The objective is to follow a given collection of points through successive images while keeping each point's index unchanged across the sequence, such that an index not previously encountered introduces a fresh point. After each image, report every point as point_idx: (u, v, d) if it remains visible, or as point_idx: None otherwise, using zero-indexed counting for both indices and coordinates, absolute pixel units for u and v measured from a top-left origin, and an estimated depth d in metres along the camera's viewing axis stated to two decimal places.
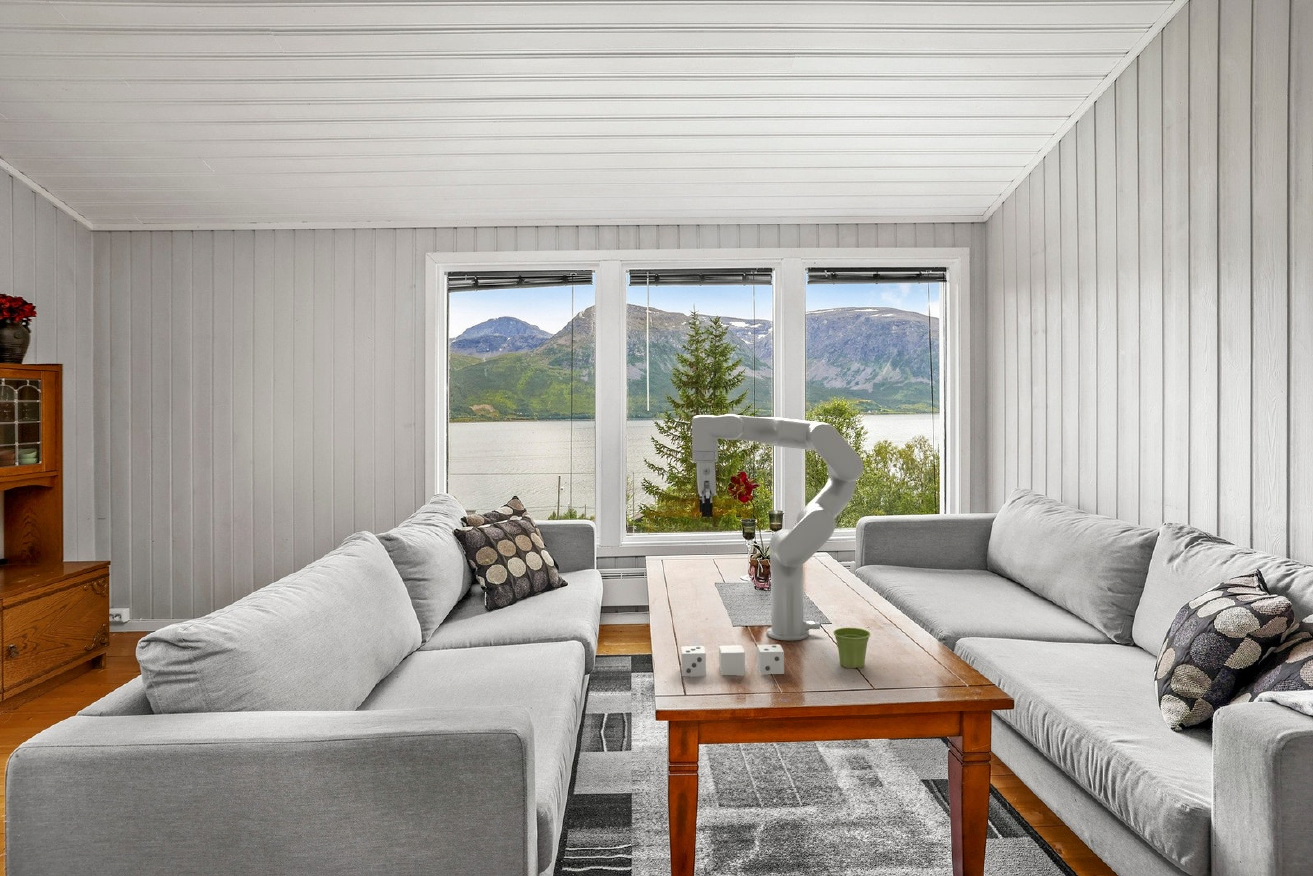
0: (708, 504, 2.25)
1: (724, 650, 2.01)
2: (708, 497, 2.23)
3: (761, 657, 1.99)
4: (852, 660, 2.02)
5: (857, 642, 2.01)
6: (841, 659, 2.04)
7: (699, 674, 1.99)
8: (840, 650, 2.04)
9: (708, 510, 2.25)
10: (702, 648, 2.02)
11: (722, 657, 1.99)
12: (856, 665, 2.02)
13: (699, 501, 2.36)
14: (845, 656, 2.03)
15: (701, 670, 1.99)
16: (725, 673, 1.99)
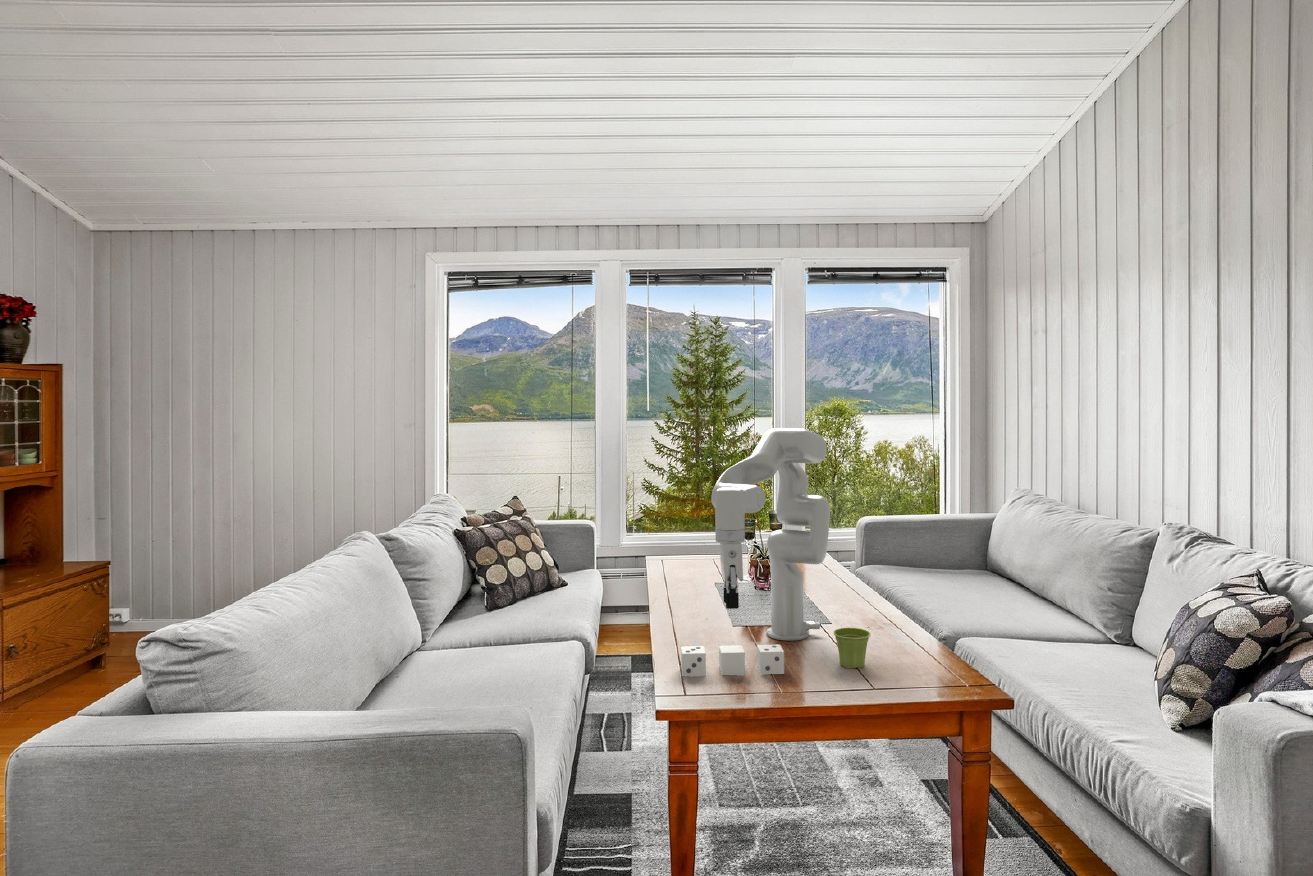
0: (733, 595, 1.97)
1: (724, 650, 2.01)
2: (734, 588, 1.95)
3: (761, 657, 1.99)
4: (852, 660, 2.02)
5: (857, 642, 2.01)
6: (841, 659, 2.04)
7: (699, 674, 1.99)
8: (840, 650, 2.04)
9: (733, 601, 1.97)
10: (702, 648, 2.02)
11: (722, 657, 1.99)
12: (856, 665, 2.02)
13: None
14: (845, 656, 2.03)
15: (701, 670, 1.99)
16: (725, 673, 1.99)
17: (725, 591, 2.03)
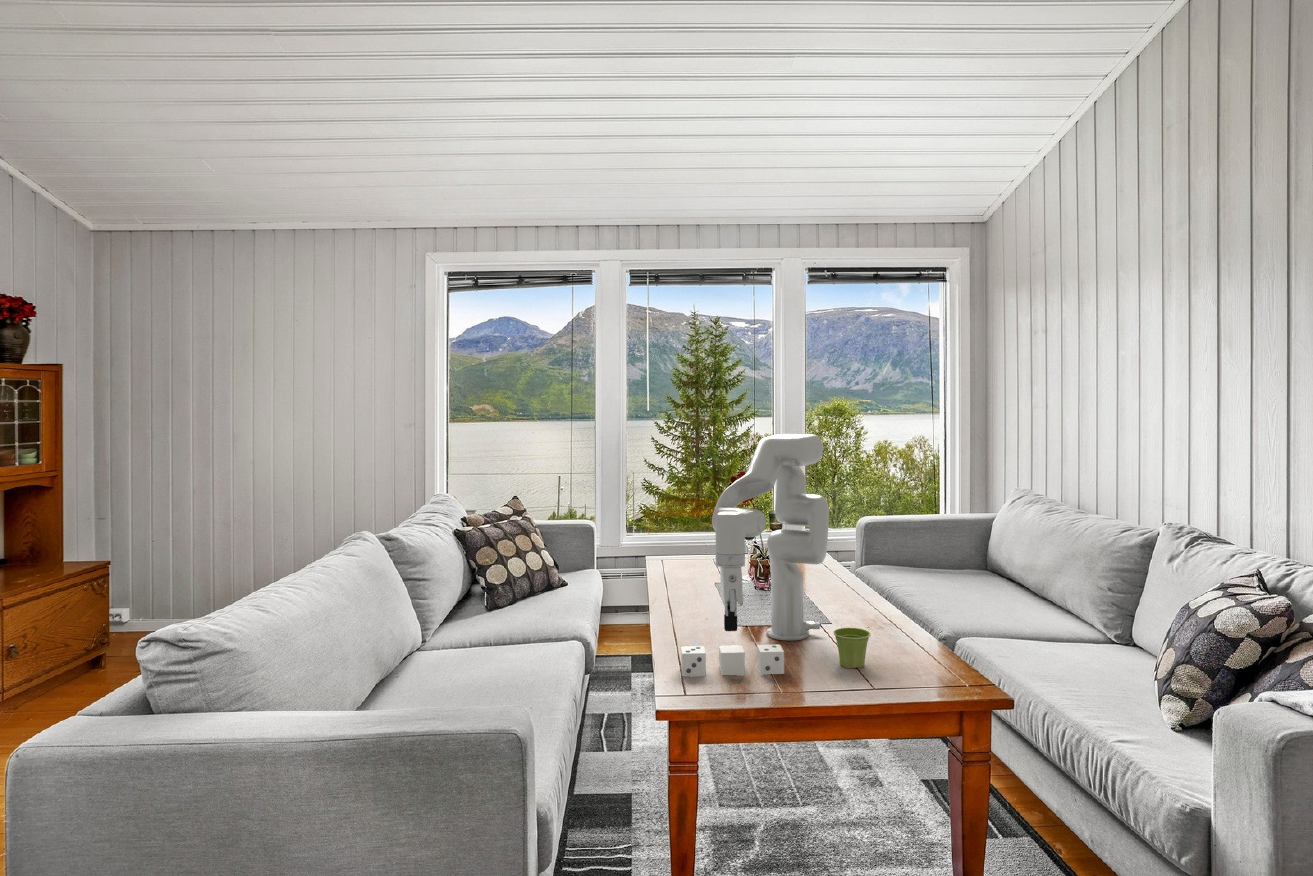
0: (732, 617, 1.99)
1: (724, 650, 2.01)
2: (732, 611, 1.98)
3: (761, 657, 1.99)
4: (852, 660, 2.02)
5: (857, 642, 2.01)
6: (841, 659, 2.04)
7: (699, 674, 1.99)
8: (840, 650, 2.04)
9: (732, 624, 1.99)
10: (702, 648, 2.02)
11: (722, 657, 1.99)
12: (856, 665, 2.02)
13: (724, 617, 2.01)
14: (845, 656, 2.03)
15: (701, 670, 1.99)
16: (725, 673, 1.99)
17: None
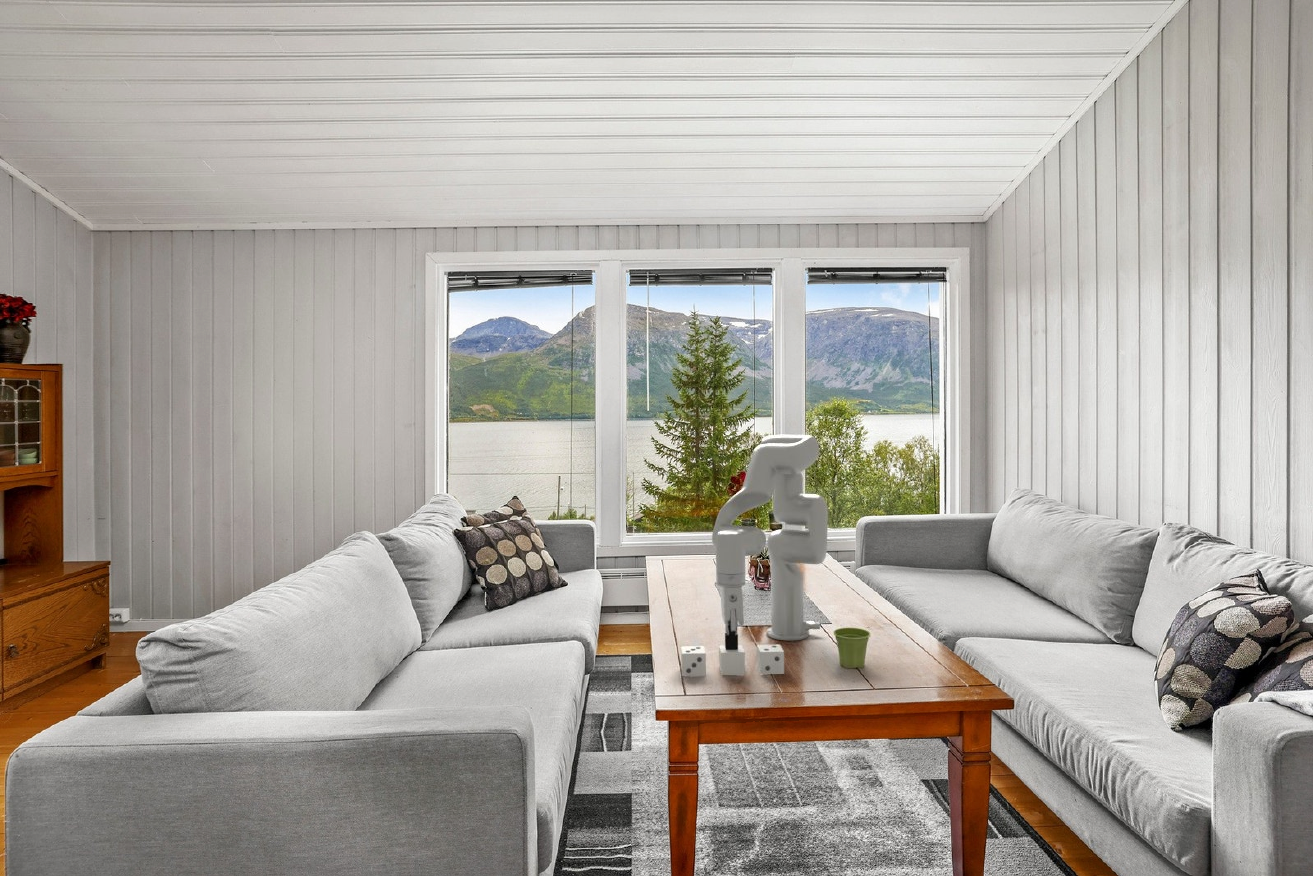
0: (733, 636, 2.00)
1: (724, 649, 2.01)
2: (733, 630, 1.98)
3: (761, 657, 1.99)
4: (852, 660, 2.02)
5: (857, 642, 2.01)
6: (841, 659, 2.04)
7: (699, 674, 1.99)
8: (840, 650, 2.04)
9: (733, 643, 2.00)
10: (702, 648, 2.02)
11: (722, 657, 1.99)
12: (856, 665, 2.02)
13: None
14: (845, 656, 2.03)
15: (701, 670, 1.99)
16: (725, 673, 1.99)
17: None
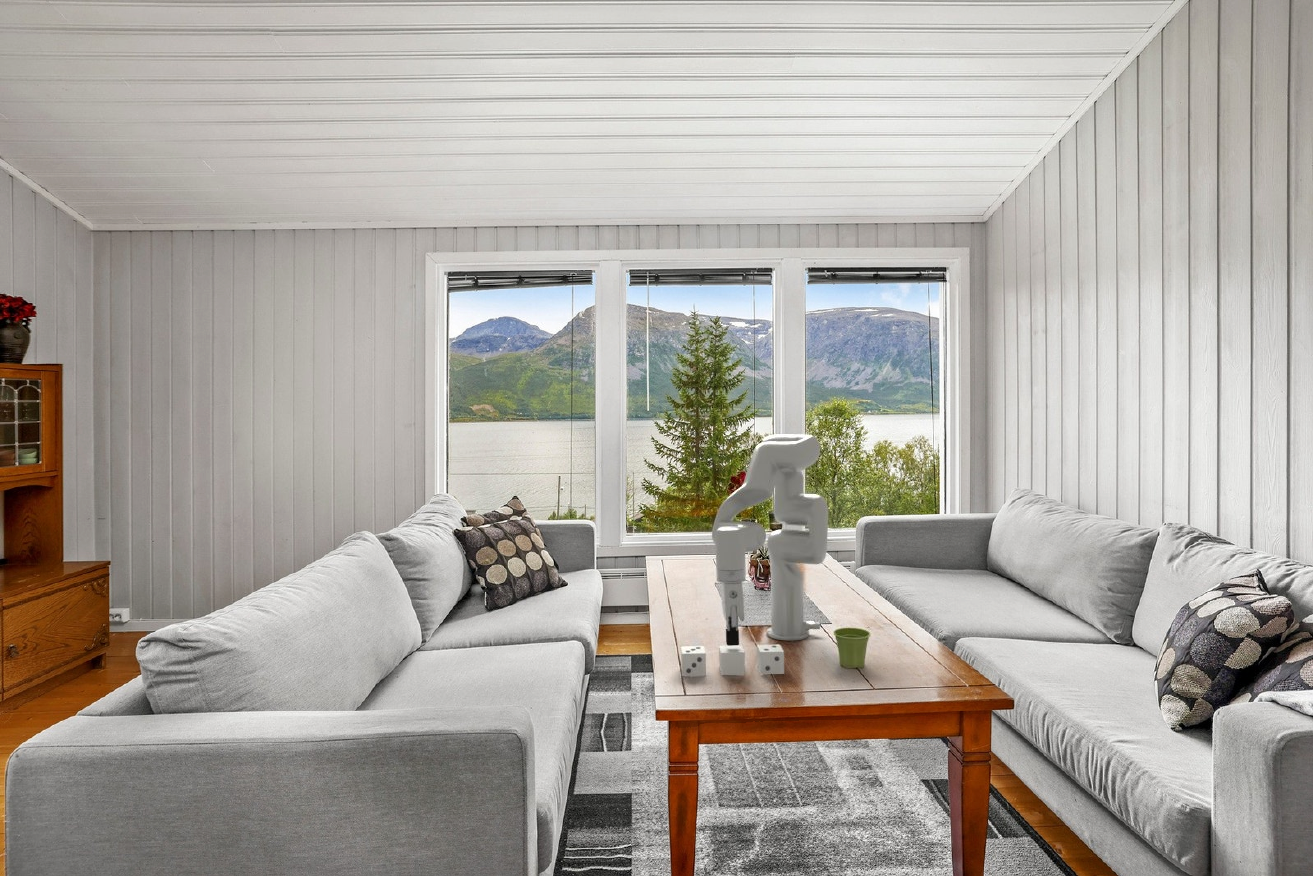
0: (734, 632, 2.00)
1: (724, 650, 2.01)
2: (734, 626, 1.99)
3: (761, 657, 1.99)
4: (852, 660, 2.02)
5: (857, 642, 2.01)
6: (841, 659, 2.04)
7: (699, 674, 1.99)
8: (840, 650, 2.04)
9: (734, 638, 2.00)
10: (702, 648, 2.02)
11: (722, 657, 1.99)
12: (856, 665, 2.02)
13: None
14: (845, 656, 2.03)
15: (701, 670, 1.99)
16: (725, 673, 1.99)
17: None
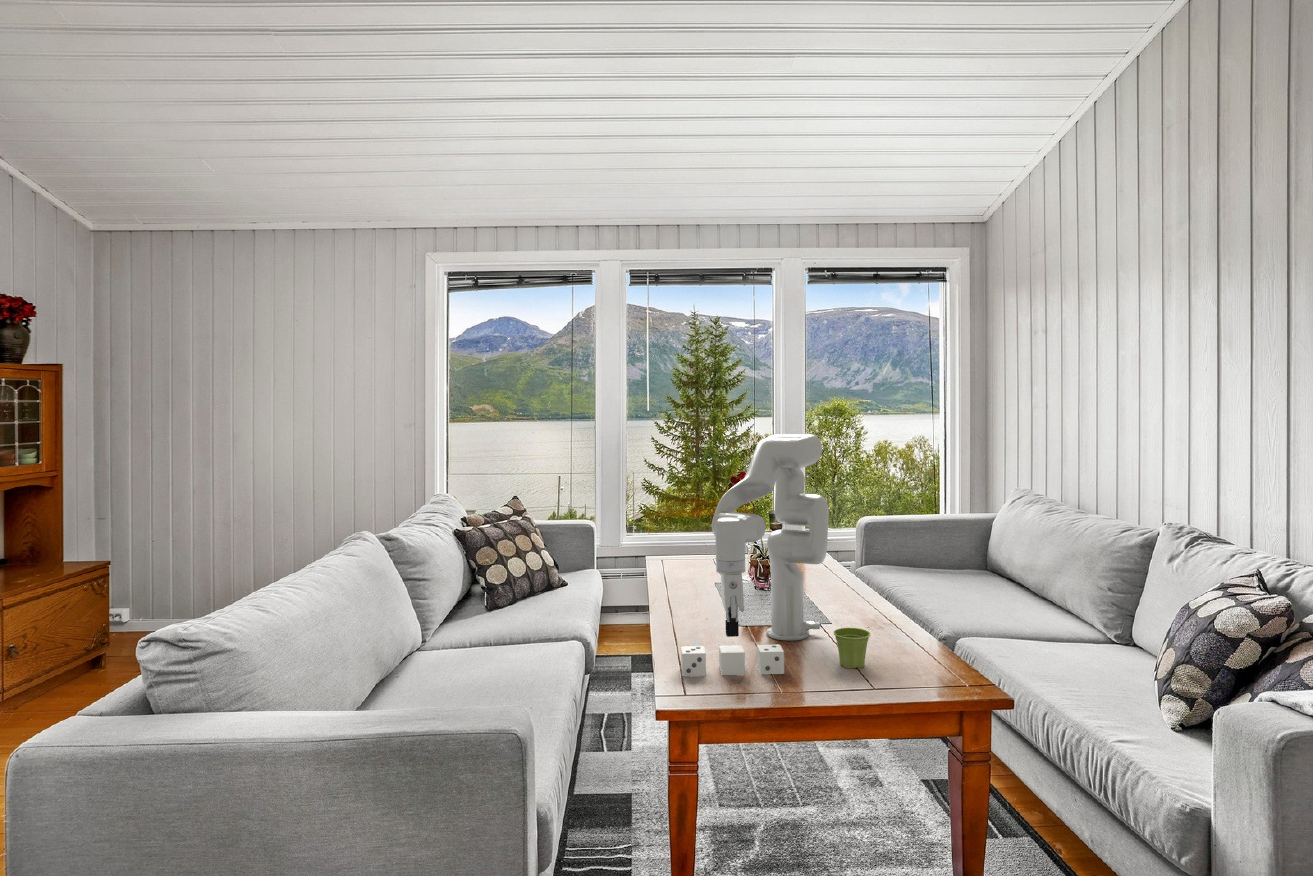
0: (733, 623, 2.00)
1: (724, 650, 2.01)
2: (733, 617, 1.98)
3: (761, 657, 1.99)
4: (852, 660, 2.02)
5: (857, 642, 2.01)
6: (841, 659, 2.04)
7: (699, 674, 1.99)
8: (840, 650, 2.04)
9: (733, 629, 2.00)
10: (702, 648, 2.02)
11: (722, 657, 1.99)
12: (856, 665, 2.02)
13: None
14: (845, 656, 2.03)
15: (701, 670, 1.99)
16: (725, 673, 1.99)
17: None
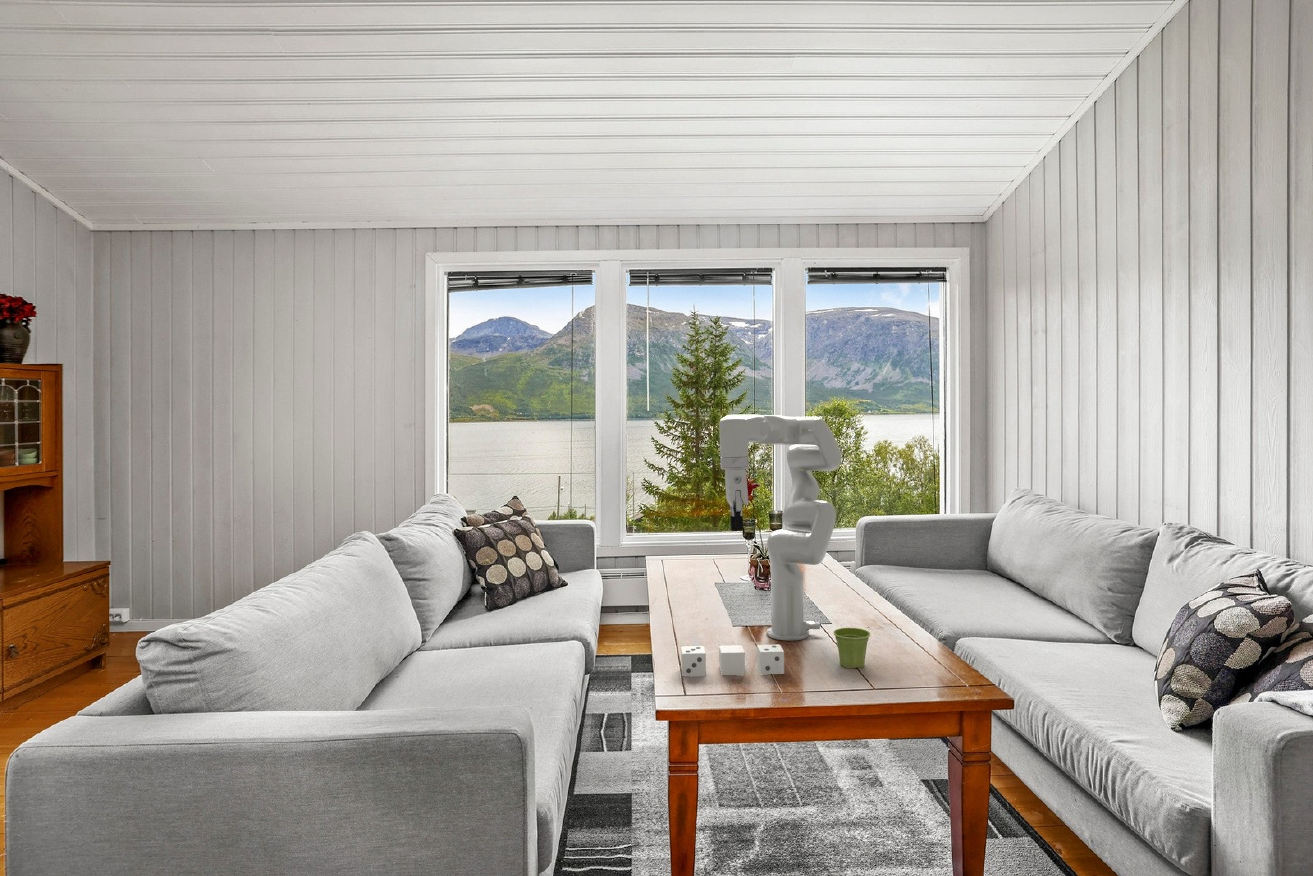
0: (738, 518, 2.09)
1: (724, 650, 2.01)
2: (738, 511, 2.07)
3: (761, 657, 1.99)
4: (852, 660, 2.02)
5: (857, 642, 2.01)
6: (841, 659, 2.04)
7: (699, 674, 1.99)
8: (840, 650, 2.04)
9: (738, 524, 2.09)
10: (702, 648, 2.02)
11: (722, 657, 1.99)
12: (856, 665, 2.02)
13: (730, 518, 2.11)
14: (845, 656, 2.03)
15: (701, 670, 1.99)
16: (725, 673, 1.99)
17: None
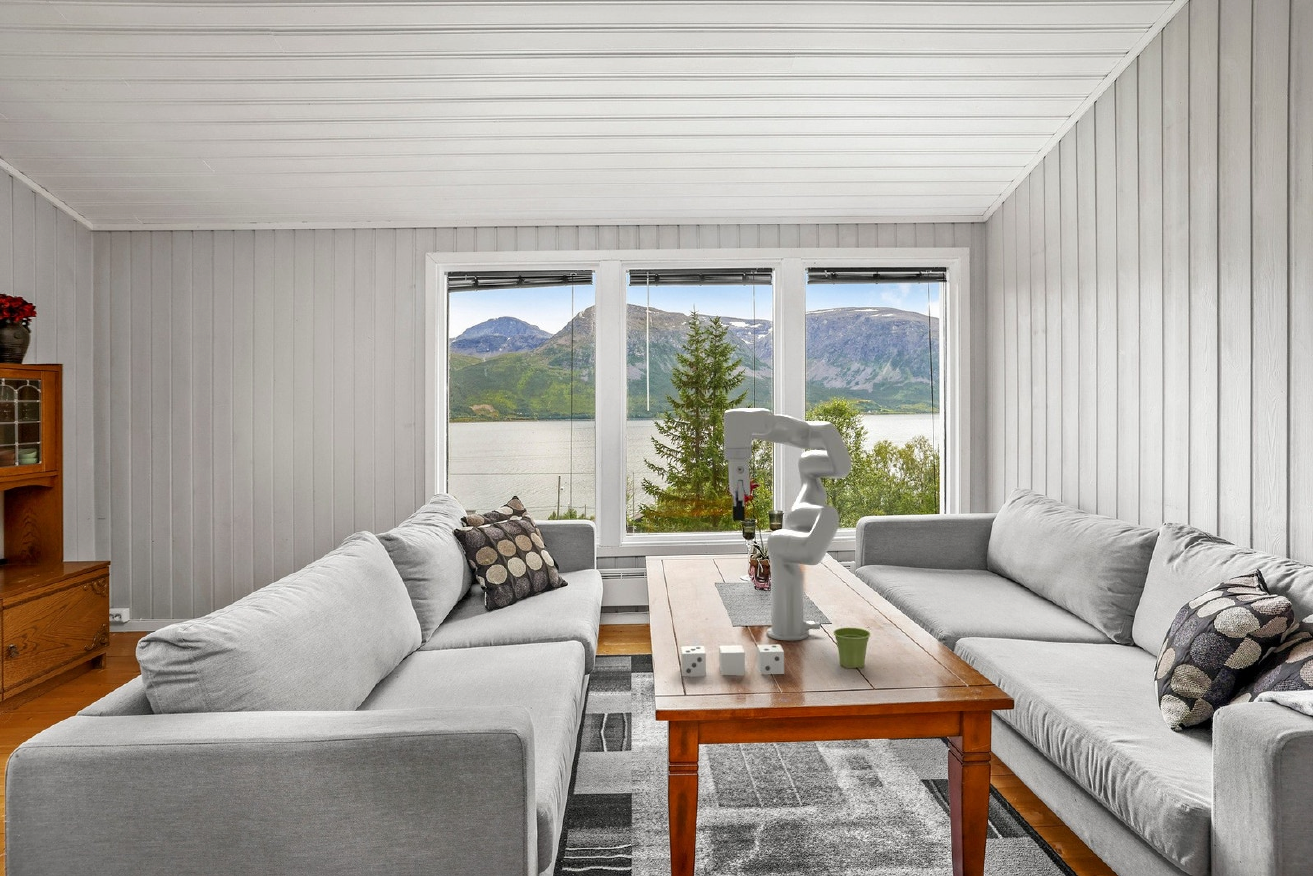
0: (740, 508, 2.14)
1: (724, 650, 2.01)
2: (740, 501, 2.12)
3: (761, 657, 1.99)
4: (852, 660, 2.02)
5: (857, 642, 2.01)
6: (841, 659, 2.04)
7: (699, 674, 1.99)
8: (840, 650, 2.04)
9: (740, 514, 2.14)
10: (702, 648, 2.02)
11: (722, 657, 1.99)
12: (856, 665, 2.02)
13: None
14: (845, 656, 2.03)
15: (701, 670, 1.99)
16: (725, 673, 1.99)
17: None
